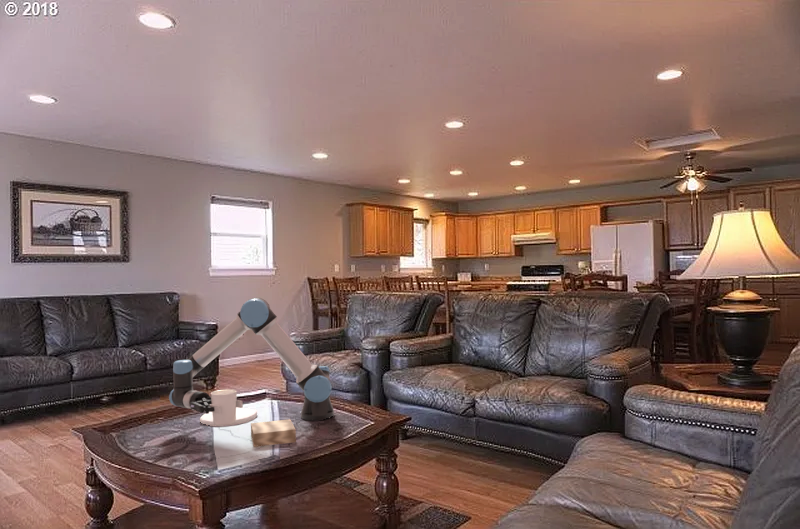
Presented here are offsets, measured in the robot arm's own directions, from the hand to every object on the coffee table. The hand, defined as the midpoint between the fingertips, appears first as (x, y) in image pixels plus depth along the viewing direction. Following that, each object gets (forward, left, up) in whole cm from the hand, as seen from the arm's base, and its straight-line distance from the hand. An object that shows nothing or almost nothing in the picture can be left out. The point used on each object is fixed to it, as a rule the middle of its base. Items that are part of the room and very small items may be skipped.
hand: (231, 407), depth 212 cm
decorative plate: (0, -44, -16) cm, 46 cm away
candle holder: (+2, -4, -7) cm, 8 cm away
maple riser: (-16, -4, -15) cm, 22 cm away
